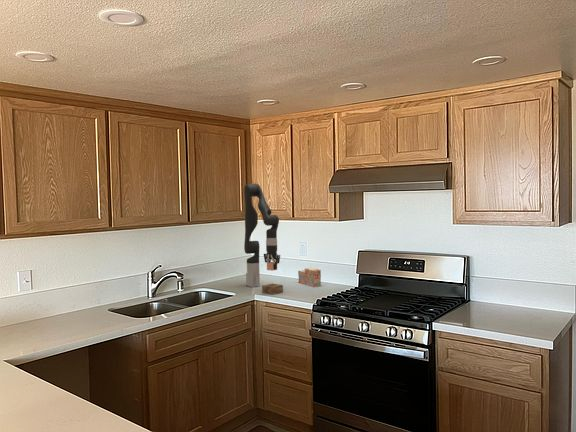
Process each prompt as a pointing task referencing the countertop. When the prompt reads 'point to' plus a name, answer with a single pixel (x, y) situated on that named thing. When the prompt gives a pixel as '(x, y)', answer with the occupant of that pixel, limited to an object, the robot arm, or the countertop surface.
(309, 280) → the stack of blocks
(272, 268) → the terracotta cube
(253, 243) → the robot arm
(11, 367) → the countertop surface
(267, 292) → the walnut block
